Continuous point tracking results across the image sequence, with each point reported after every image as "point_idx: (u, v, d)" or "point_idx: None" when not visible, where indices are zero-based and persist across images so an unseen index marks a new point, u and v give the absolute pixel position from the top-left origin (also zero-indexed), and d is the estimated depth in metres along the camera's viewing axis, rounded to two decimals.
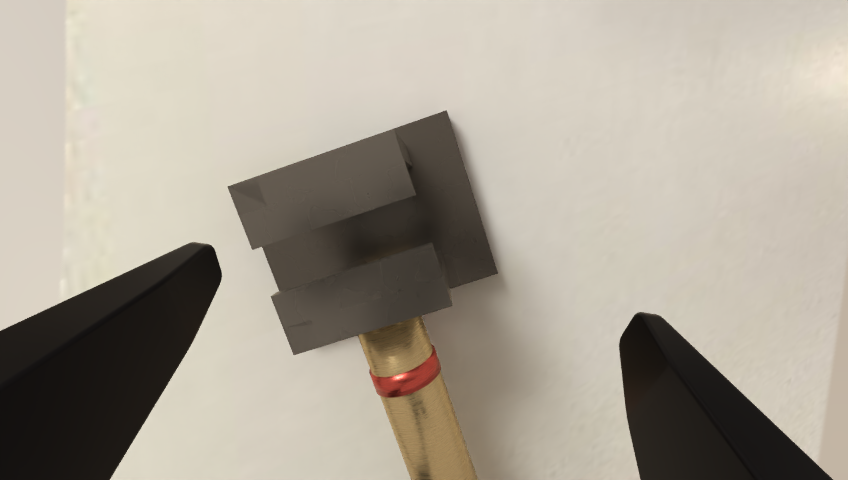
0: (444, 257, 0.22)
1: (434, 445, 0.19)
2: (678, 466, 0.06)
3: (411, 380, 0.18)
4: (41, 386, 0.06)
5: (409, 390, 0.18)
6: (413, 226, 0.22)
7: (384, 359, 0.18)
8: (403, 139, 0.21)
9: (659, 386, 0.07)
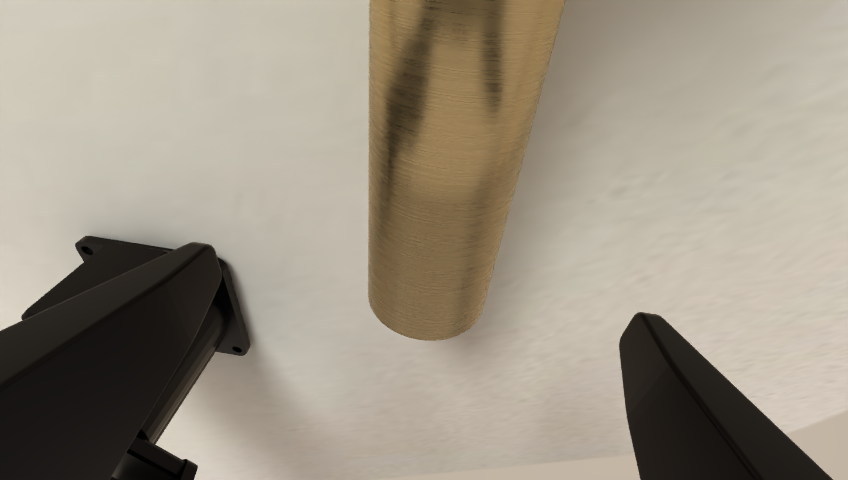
0: None
1: None
2: (678, 466, 0.06)
3: None
4: (40, 386, 0.06)
5: None
6: None
7: None
8: None
9: (659, 386, 0.07)
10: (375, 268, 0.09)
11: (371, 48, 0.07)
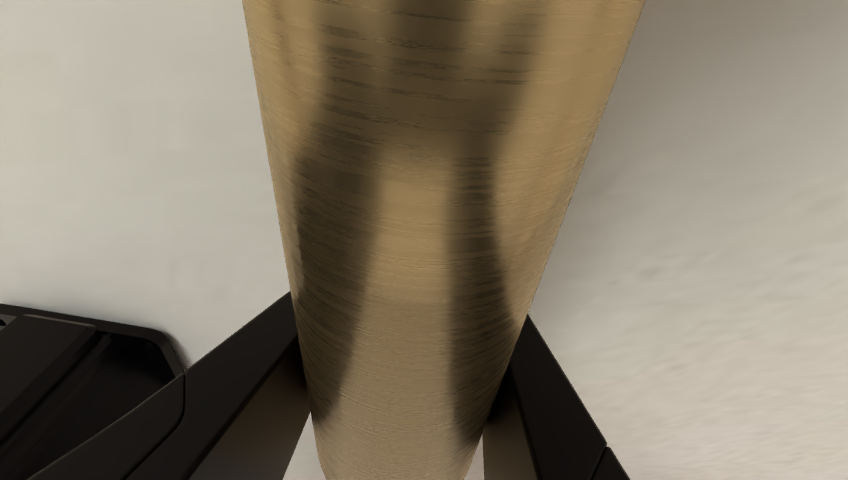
0: None
1: None
2: (497, 435, 0.06)
3: None
4: (240, 421, 0.05)
5: None
6: None
7: None
8: None
9: None
10: (316, 428, 0.07)
11: (267, 150, 0.04)
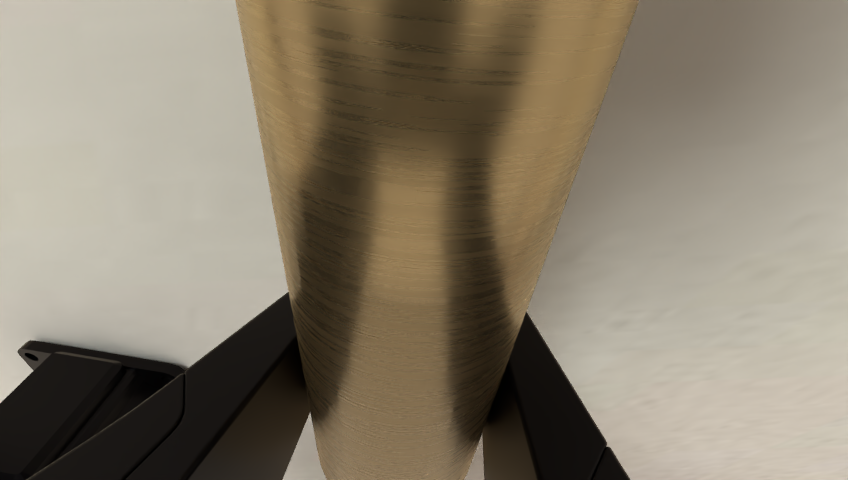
0: None
1: None
2: (497, 435, 0.06)
3: None
4: (241, 421, 0.05)
5: None
6: None
7: None
8: None
9: None
10: (315, 429, 0.07)
11: (263, 152, 0.04)
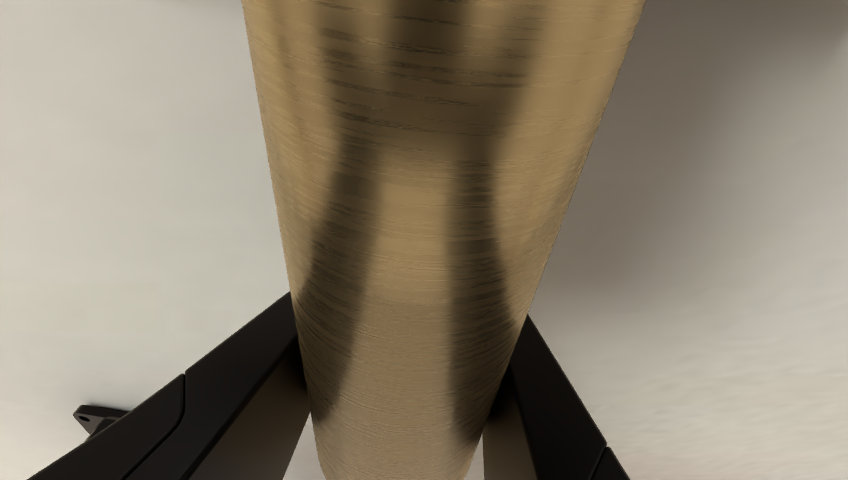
0: None
1: None
2: (497, 435, 0.06)
3: None
4: (240, 421, 0.05)
5: None
6: None
7: None
8: None
9: None
10: (316, 429, 0.07)
11: (267, 151, 0.04)
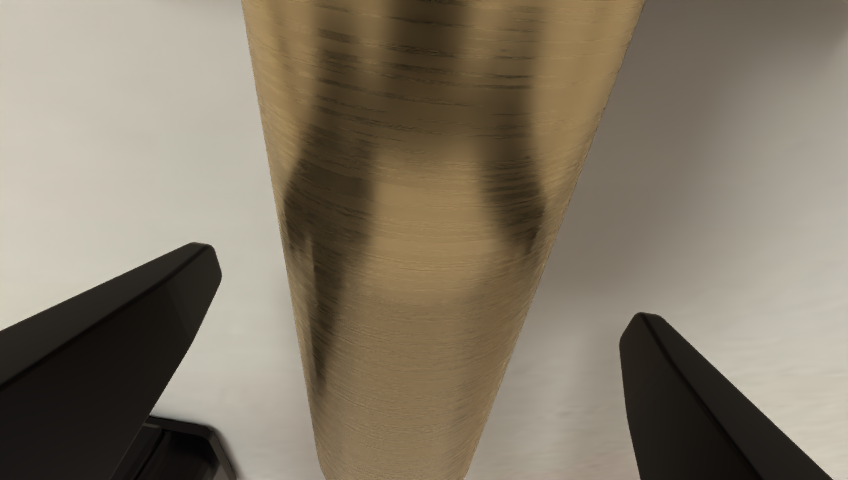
0: None
1: None
2: (678, 466, 0.06)
3: None
4: (39, 386, 0.06)
5: None
6: None
7: None
8: None
9: (659, 386, 0.07)
10: (315, 429, 0.07)
11: (267, 152, 0.04)
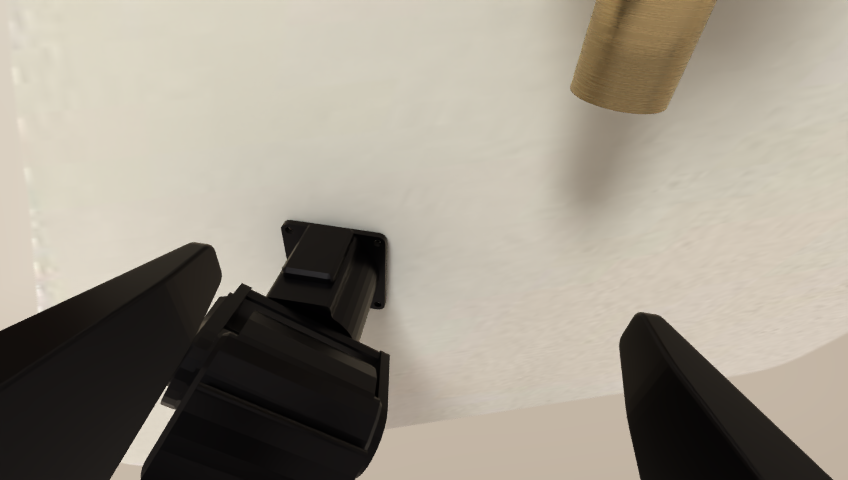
0: None
1: None
2: (678, 466, 0.06)
3: None
4: (41, 386, 0.06)
5: None
6: None
7: None
8: None
9: (659, 386, 0.07)
10: (603, 49, 0.12)
11: None
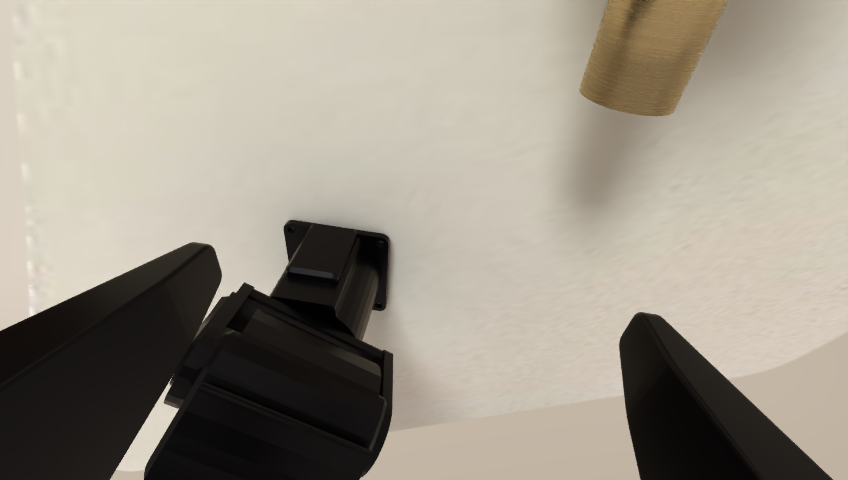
0: None
1: None
2: (678, 466, 0.06)
3: None
4: (39, 386, 0.06)
5: None
6: None
7: None
8: None
9: (659, 386, 0.07)
10: (614, 52, 0.12)
11: None
